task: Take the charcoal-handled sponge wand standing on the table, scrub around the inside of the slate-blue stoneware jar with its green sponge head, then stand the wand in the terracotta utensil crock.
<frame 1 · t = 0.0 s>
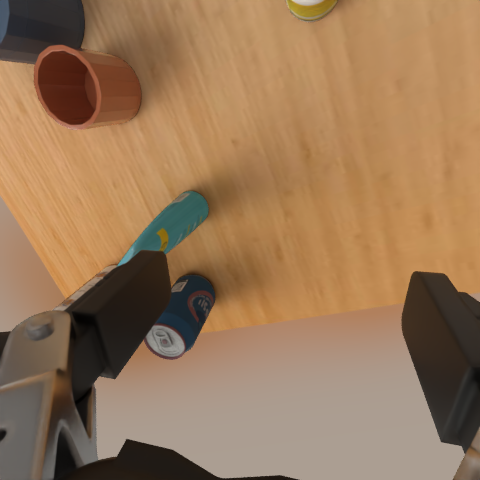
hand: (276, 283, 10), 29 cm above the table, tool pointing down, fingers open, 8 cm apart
crock: (113, 90, 38), on the table
jar: (42, 11, 36), on the table
soda can: (197, 288, 49), on the table
bath foam: (121, 280, 52), on the table
tube: (194, 206, 43), on the table
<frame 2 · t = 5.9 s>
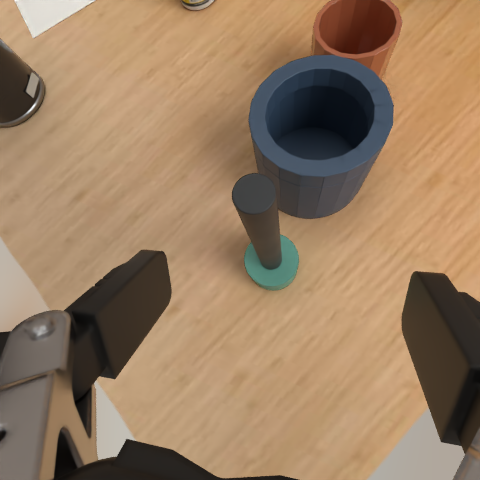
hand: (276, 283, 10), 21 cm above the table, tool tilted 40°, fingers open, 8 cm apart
crock: (341, 87, 36), on the table
sponge wand: (273, 266, 31), on the table
jar: (309, 171, 34), on the table
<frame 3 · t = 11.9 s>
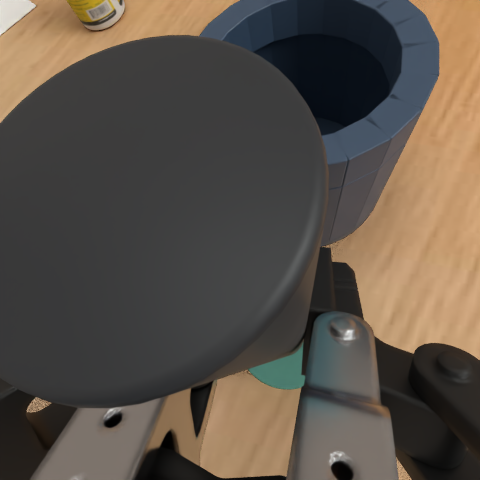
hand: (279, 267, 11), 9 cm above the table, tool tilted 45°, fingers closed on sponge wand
sponge wand: (287, 338, 19), on the table, touching gripper
jar: (300, 178, 23), on the table
supplement bottle: (105, 17, 35), on the table
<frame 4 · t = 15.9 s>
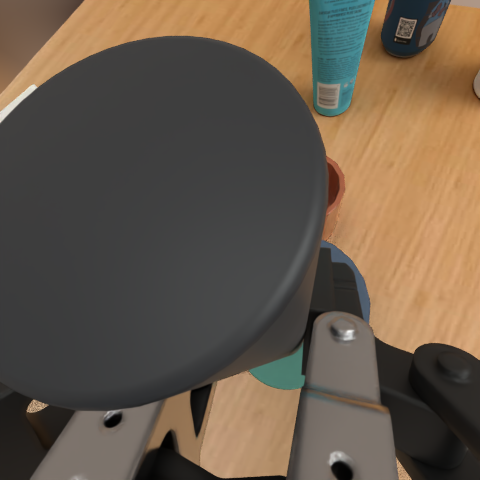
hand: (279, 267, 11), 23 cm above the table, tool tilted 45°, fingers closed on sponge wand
crock: (302, 218, 36), on the table
sponge wand: (287, 338, 19), point 14 cm above the table, touching gripper
jar: (296, 315, 33), on the table
soda can: (404, 44, 43), on the table
teacup and saucer: (15, 147, 51), on the table
tube: (330, 103, 42), on the table
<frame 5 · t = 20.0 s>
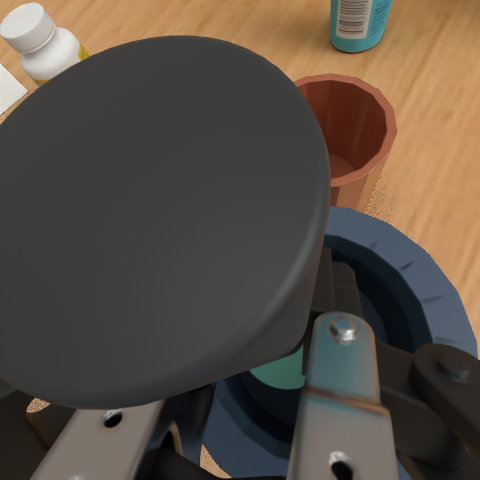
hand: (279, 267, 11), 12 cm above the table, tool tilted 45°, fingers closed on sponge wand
crock: (315, 194, 24), on the table
sponge wand: (287, 338, 19), point 2 cm above the table, touching gripper
jar: (307, 342, 21), on the table
supplement bottle: (99, 111, 33), on the table
tube: (354, 37, 30), on the table
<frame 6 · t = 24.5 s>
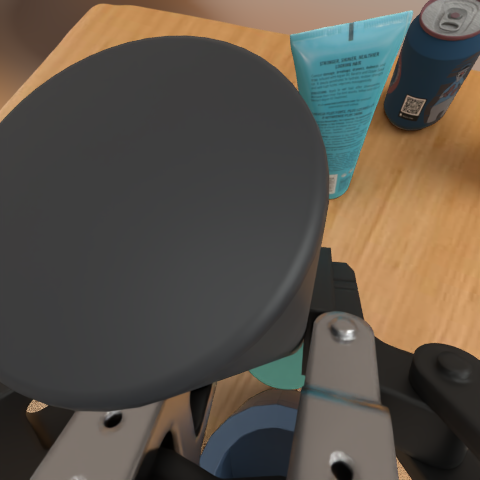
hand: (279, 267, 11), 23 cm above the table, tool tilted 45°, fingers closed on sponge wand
sponge wand: (287, 338, 19), point 13 cm above the table, touching gripper
jar: (285, 454, 28), on the table
soda can: (410, 113, 38), on the table
tube: (327, 182, 37), on the table
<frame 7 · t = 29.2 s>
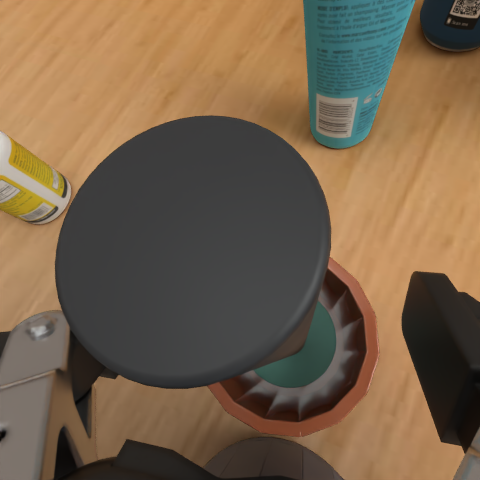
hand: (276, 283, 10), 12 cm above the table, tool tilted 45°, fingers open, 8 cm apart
crock: (288, 338, 20), on the table
sponge wand: (289, 338, 20), point 1 cm above the table, touching crock
supplement bottle: (49, 201, 29), on the table
soda can: (457, 30, 27), on the table
tube: (338, 126, 25), on the table
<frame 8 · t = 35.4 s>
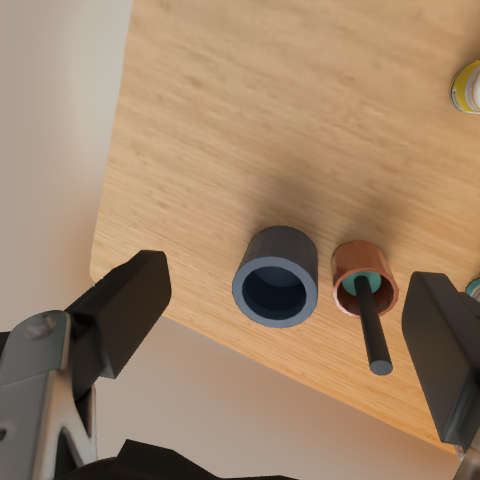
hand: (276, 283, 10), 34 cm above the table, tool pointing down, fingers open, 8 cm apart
crock: (357, 263, 46), on the table
sponge wand: (357, 266, 45), point 1 cm above the table, touching crock
jar: (281, 258, 48), on the table
supplement bottle: (474, 86, 34), on the table
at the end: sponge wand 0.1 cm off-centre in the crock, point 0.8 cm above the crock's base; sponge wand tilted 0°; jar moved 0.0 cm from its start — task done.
